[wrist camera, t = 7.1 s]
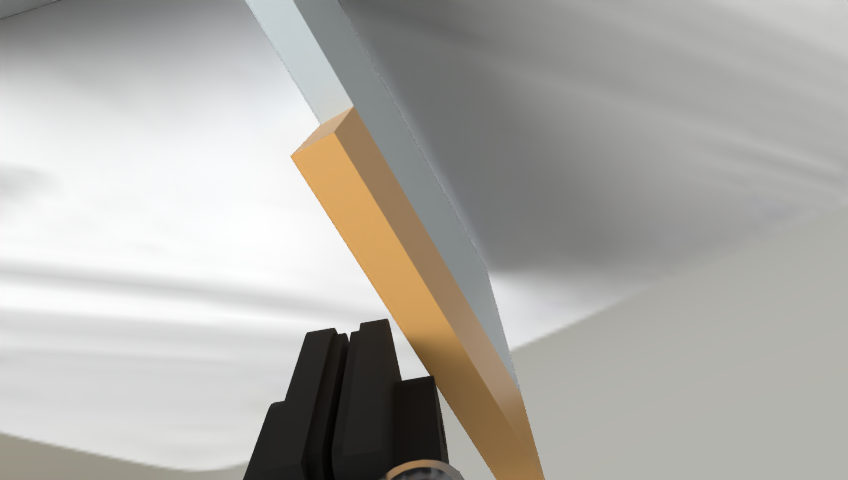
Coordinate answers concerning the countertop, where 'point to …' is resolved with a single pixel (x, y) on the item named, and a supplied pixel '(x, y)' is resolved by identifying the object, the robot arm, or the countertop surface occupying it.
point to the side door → (402, 227)
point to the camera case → (20, 6)
